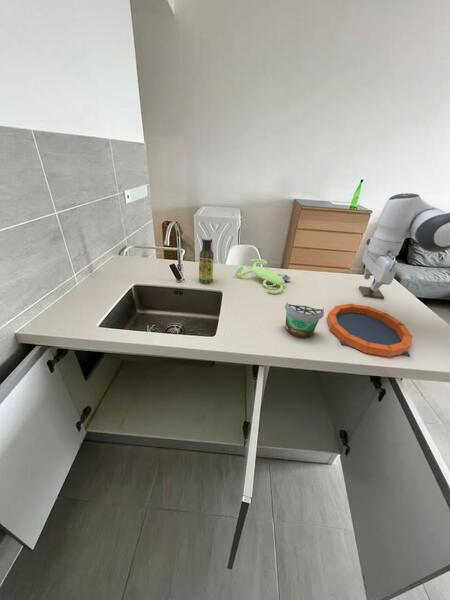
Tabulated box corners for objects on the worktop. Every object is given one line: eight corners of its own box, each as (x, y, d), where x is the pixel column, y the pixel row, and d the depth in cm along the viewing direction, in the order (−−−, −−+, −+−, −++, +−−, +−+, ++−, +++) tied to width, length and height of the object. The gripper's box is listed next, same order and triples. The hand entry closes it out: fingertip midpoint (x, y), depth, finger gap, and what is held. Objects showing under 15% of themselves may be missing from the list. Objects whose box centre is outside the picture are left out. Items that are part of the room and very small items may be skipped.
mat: (386, 319, 91) (386, 318, 91) (409, 356, 74) (410, 355, 74) (330, 311, 94) (331, 310, 94) (341, 345, 77) (341, 344, 77)
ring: (391, 315, 93) (394, 309, 91) (422, 362, 72) (427, 356, 70) (323, 305, 96) (325, 300, 95) (334, 347, 75) (336, 341, 74)
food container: (279, 336, 79) (285, 311, 74) (280, 325, 84) (285, 301, 79) (319, 343, 77) (327, 318, 72) (317, 332, 82) (325, 307, 77)
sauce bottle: (197, 283, 108) (196, 239, 98) (201, 277, 113) (201, 235, 103) (211, 285, 107) (212, 241, 97) (214, 279, 112) (215, 236, 102)
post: (377, 290, 110) (386, 270, 105) (383, 299, 104) (393, 278, 98) (358, 288, 112) (366, 267, 106) (363, 296, 105) (372, 275, 100)
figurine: (255, 265, 128) (257, 255, 125) (299, 284, 112) (301, 273, 109) (230, 274, 117) (231, 263, 115) (274, 296, 101) (276, 284, 98)
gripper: (408, 259, 71) (390, 299, 78) (384, 238, 88) (370, 273, 95) (385, 257, 71) (369, 297, 79) (365, 237, 89) (353, 271, 96)
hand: (369, 284), depth 87 cm, fingers open, 8 cm apart
